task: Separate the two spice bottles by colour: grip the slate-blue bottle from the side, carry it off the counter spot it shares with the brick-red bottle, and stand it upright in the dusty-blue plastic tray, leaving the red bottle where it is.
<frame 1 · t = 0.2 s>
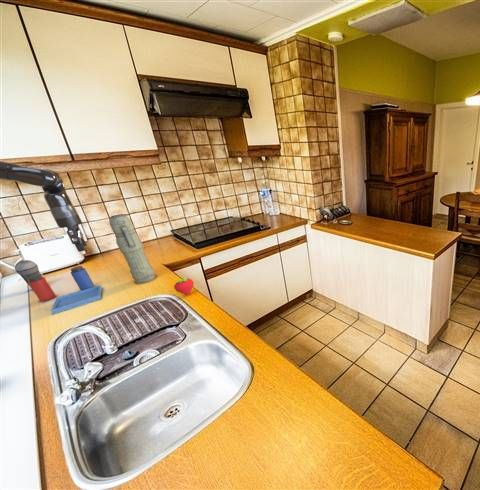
hand: (82, 248, 124), 22 cm above the worktop, tool pointing down, fingers open, 8 cm apart
blue tray: (79, 300, 124), on the worktop
blue bottle: (88, 288, 133), on the worktop
strawberry: (188, 295, 123), on the worktop
red bottle: (48, 298, 127), on the worktop
stone statue: (146, 279, 139), on the worktop
beverage cup: (39, 287, 137), on the worktop
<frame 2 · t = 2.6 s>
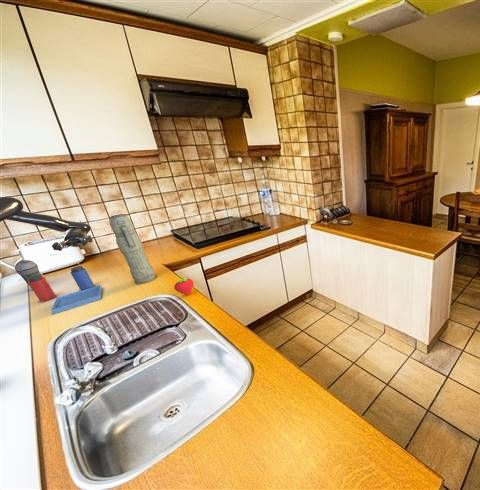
hand: (71, 246, 133), 20 cm above the worktop, tool horizontal, fingers open, 8 cm apart
nothing on the worktop moved.
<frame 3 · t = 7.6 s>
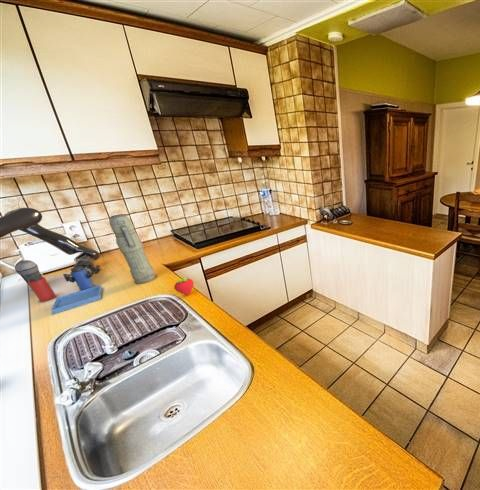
hand: (80, 278, 129), 7 cm above the worktop, tool horizontal, fingers closed on blue bottle, 5 cm apart
blue bottle: (88, 288, 133), on the worktop, touching gripper
everything else where it was.
when the fingers open (8 cm above the worktop, at t = 15.1 s): blue bottle stays where it is, resting on blue tray.
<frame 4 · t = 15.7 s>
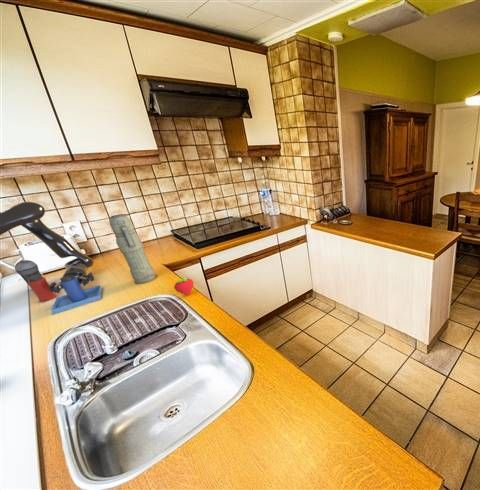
hand: (70, 287, 119), 8 cm above the worktop, tool horizontal, fingers open, 8 cm apart
blue bottle: (79, 299, 124), resting on blue tray
everything else where it was.
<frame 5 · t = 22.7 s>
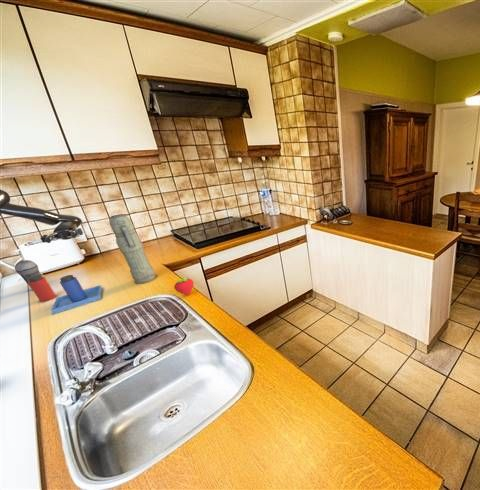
hand: (60, 238, 130), 25 cm above the worktop, tool horizontal, fingers open, 8 cm apart
nothing on the worktop moved.
at the end: blue bottle inside the target area in the blue tray (0.1 cm from its centre), point 0.5 cm above the blue tray's base; blue bottle tilted 0°; red bottle moved 0.0 cm from its start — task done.
